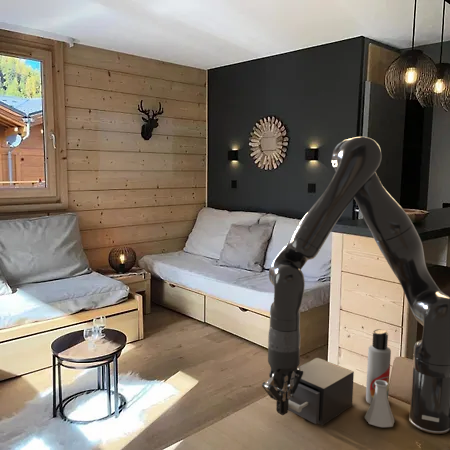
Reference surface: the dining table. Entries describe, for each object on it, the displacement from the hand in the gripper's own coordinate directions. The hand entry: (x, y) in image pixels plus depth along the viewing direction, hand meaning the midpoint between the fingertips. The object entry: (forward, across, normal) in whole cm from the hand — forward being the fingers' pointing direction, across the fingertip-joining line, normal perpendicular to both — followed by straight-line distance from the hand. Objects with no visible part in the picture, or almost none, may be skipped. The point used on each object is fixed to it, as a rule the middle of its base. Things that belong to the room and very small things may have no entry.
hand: (282, 412), depth 109 cm
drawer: (+3, +10, 0) cm, 11 cm away
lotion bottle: (+4, +29, -9) cm, 30 cm away
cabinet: (+4, +15, 0) cm, 16 cm away
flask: (+4, +21, -14) cm, 26 cm away
